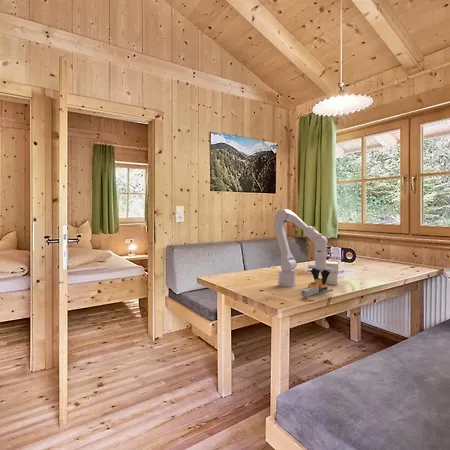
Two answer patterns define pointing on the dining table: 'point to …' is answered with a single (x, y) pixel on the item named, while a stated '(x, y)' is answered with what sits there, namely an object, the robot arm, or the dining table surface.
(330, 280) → the supplement box
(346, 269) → the dining table surface
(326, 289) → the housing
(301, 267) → the dining table surface
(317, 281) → the orange knob block
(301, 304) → the dining table surface
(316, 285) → the block
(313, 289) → the cover bar
